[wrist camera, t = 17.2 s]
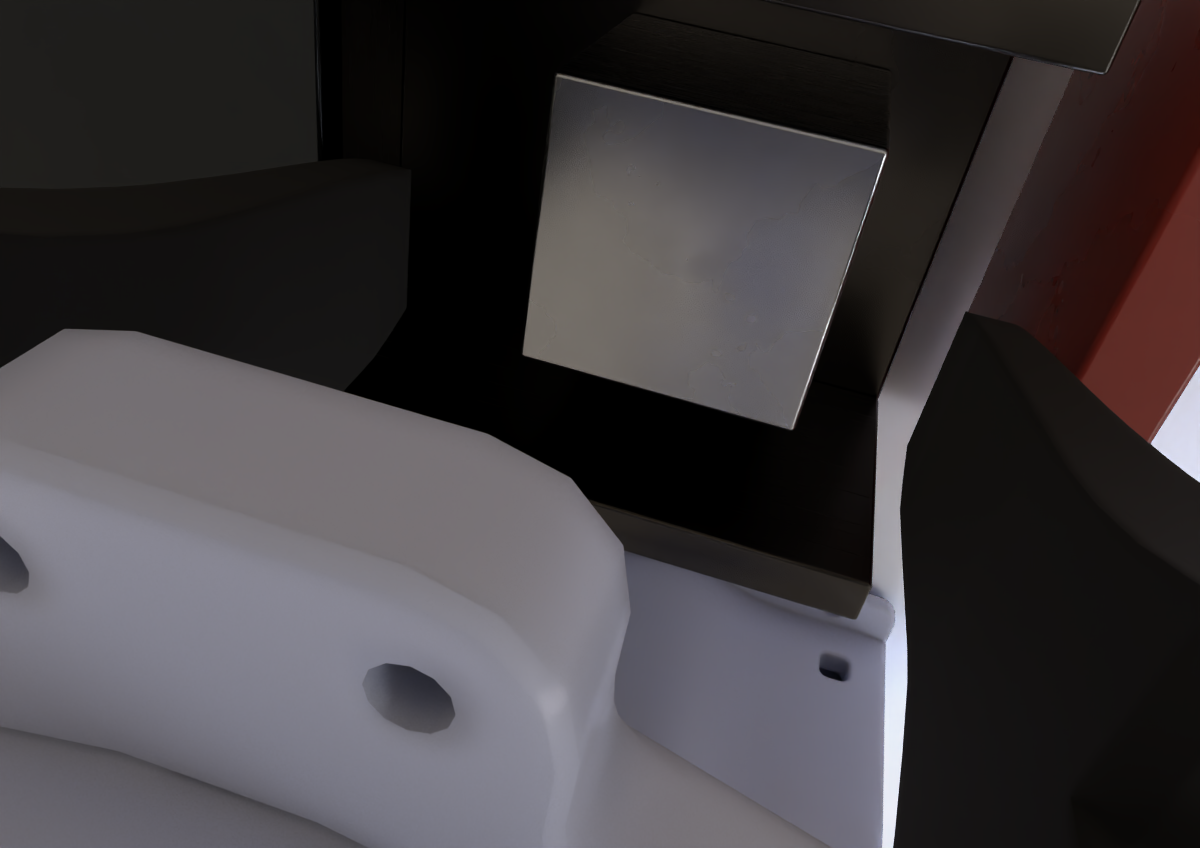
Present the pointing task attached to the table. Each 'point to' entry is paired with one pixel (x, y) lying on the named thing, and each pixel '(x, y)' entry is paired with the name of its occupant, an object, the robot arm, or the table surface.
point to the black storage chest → (166, 89)
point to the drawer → (874, 283)
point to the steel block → (702, 213)
